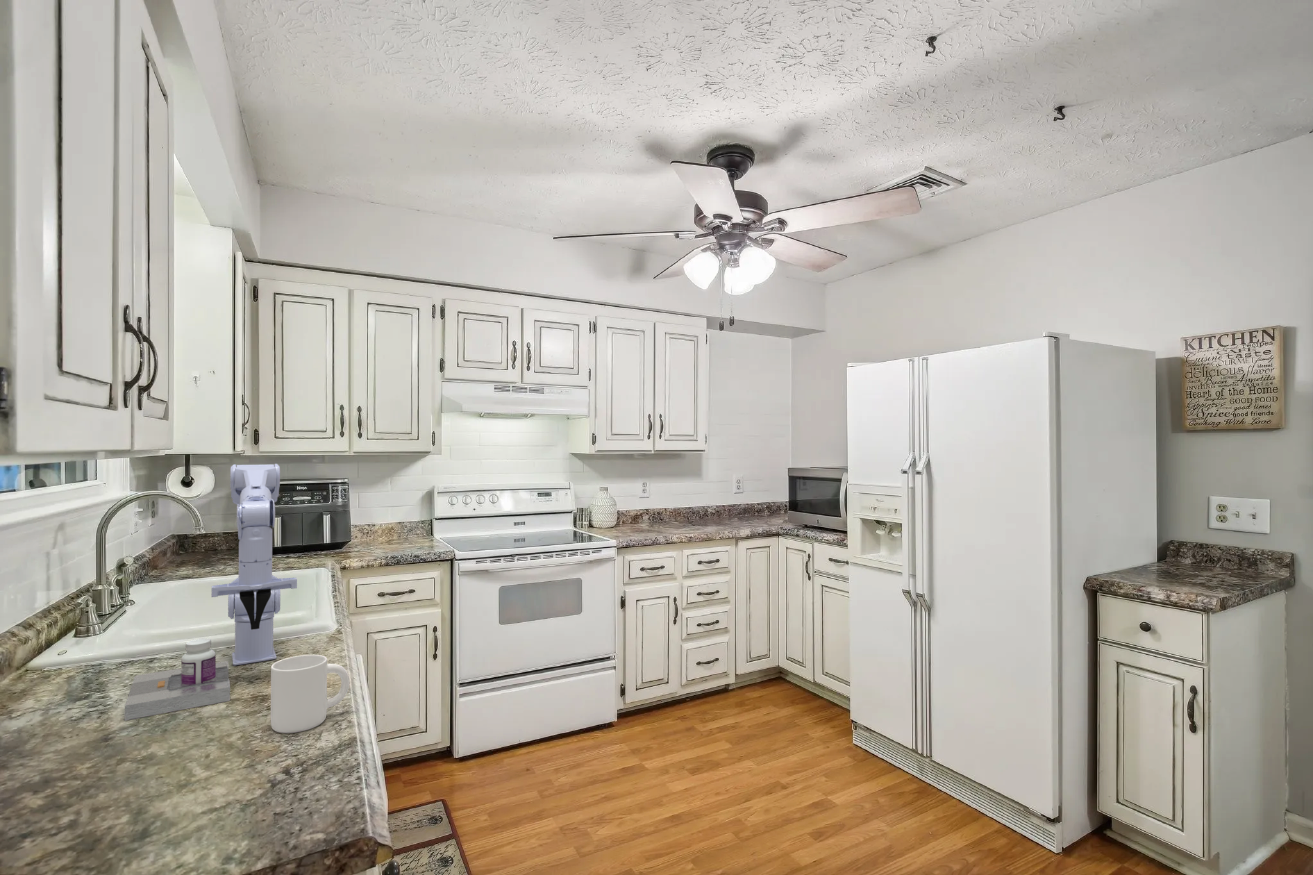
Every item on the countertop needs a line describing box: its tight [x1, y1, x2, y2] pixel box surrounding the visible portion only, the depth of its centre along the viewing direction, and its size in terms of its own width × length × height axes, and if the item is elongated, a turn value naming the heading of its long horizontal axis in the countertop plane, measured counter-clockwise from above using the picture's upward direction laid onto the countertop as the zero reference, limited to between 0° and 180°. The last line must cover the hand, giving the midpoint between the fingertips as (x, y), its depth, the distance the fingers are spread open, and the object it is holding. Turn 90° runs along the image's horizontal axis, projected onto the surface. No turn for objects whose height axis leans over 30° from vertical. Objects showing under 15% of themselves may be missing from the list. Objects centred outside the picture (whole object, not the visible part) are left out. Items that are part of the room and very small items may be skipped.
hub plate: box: [124, 660, 231, 721], centre depth 121 cm, size 18×15×3 cm
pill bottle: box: [180, 637, 217, 686], centre depth 123 cm, size 5×5×10 cm
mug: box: [270, 654, 351, 734], centre depth 110 cm, size 12×8×10 cm
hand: (255, 628), depth 129 cm, fingers closed
